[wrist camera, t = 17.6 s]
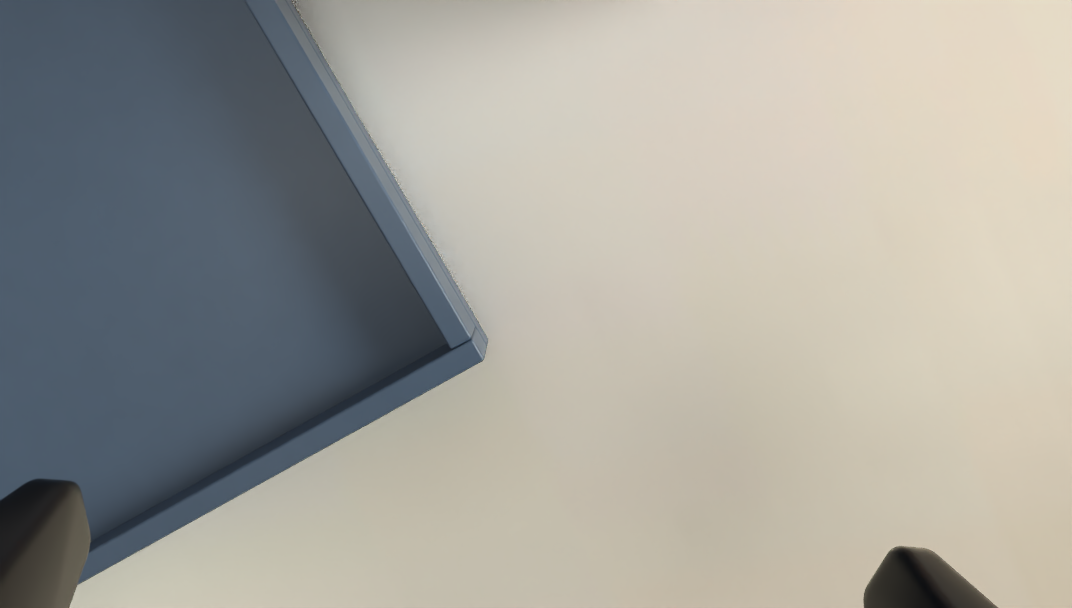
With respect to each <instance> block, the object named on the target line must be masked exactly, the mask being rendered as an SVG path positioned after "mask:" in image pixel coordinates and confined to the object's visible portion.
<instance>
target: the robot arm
mask: <svg viewBox="0 0 1072 608" xmlns="http://www.w3.org/2000/svg"><path fill="white" fill-rule="evenodd" d="M90 537H91V535H90V529H89V524H88V519H87V515H86V510H85V505H84V501H83V496H82V492H81V489H80V487H79V485H78V484H77V483H76V482H73V481H70V480H57V479H45V478H37V479H33V480H31V481H28V482H26V483H25V484H23V485H21V486H20V487H19V488H17V489H16V490H14V491H13V492H11V493H10V494H9V495H7V496H6V497H4V498H3V499H1V500H0V608H69V606H70V604H71V601H72V598H73V595H74V592H75V590H76V587H77V584H78V581H79V579H80V576H81V573H82V570H83V567H84V565H85V562H86V559H87V556H88V552H89V548H90ZM864 608H998V607H997V606H995V605H994V604H993V603H992V602H991V601H990V600H989V599H987V598H986V597H985V596H984V595H983V594H982V593H981V592H979V591H978V590H977V589H976V588H975V587H974V586H972V585H971V584H970V583H969V582H968V581H967V580H966V579H964V578H963V577H962V576H961V575H960V574H959V573H958V572H956V571H955V570H954V569H953V568H952V567H951V566H950V565H948V564H947V563H946V562H945V561H944V560H943V559H942V558H940V557H939V556H938V555H937V554H935V553H934V552H933V551H931V550H928V549H925V548H916V547H904V546H898V547H895V548H893V549H891V550H890V551H889V552H888V554H887V555H886V557H885V558H884V560H883V562H882V563H881V565H880V566H879V568H878V569H877V571H876V573H875V574H874V576H873V577H872V579H871V580H870V582H869V583H868V585H867V587H866V589H865V593H864Z"/></svg>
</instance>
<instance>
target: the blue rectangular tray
mask: <svg viewBox="0 0 1072 608" xmlns="http://www.w3.org/2000/svg"><path fill="white" fill-rule="evenodd" d="M487 344H488V338H487V337H486V335H485V333H484V331H483V330H482V328H481V326H480V324H479V323H478V321H477V319H476V318H475V316H474V314H473V312H472V311H471V309H470V307H469V306H468V304H467V302H466V300H465V299H464V297H463V295H462V294H461V292H460V290H459V288H458V287H457V285H456V283H455V282H454V280H453V278H452V276H451V275H450V273H449V271H448V270H447V268H446V266H445V264H444V263H443V261H442V259H441V257H440V256H439V254H438V252H437V251H436V249H435V247H434V245H433V244H432V242H431V240H430V239H429V237H428V235H427V233H426V232H425V230H424V228H423V227H422V225H421V223H420V221H419V220H418V218H417V216H416V215H415V213H414V211H413V209H412V208H411V206H410V204H409V203H408V201H407V199H406V197H405V196H404V194H403V192H402V190H401V189H400V187H399V185H398V184H397V182H396V180H395V178H394V177H393V175H392V173H391V172H390V170H389V168H388V166H387V165H386V163H385V161H384V160H383V158H382V156H381V154H380V153H379V151H378V149H377V148H376V146H375V144H374V142H373V141H372V139H371V137H370V136H369V134H368V132H367V130H366V129H365V127H364V125H363V123H362V122H361V120H360V118H359V117H358V115H357V113H356V111H355V110H354V108H353V106H352V105H351V103H350V101H349V99H348V98H347V96H346V94H345V93H344V91H343V89H342V87H341V86H340V84H339V82H338V81H337V79H336V77H335V75H334V74H333V72H332V70H331V69H330V67H329V65H328V63H327V62H326V60H325V58H324V56H323V55H322V53H321V51H320V50H319V48H318V46H317V44H316V43H315V41H314V39H313V38H312V36H311V34H310V32H309V31H308V29H307V27H306V26H305V24H304V22H303V20H302V19H301V17H300V15H299V14H298V12H297V10H296V8H295V7H294V5H293V3H292V2H291V0H0V500H1V499H3V498H4V497H6V496H7V495H9V494H10V493H11V492H13V491H14V490H16V489H17V488H19V487H20V486H21V485H23V484H25V483H26V482H28V481H31V480H33V479H37V478H45V479H57V480H70V481H73V482H76V483H77V484H78V485H79V487H80V489H81V492H82V496H83V501H84V505H85V510H86V515H87V519H88V524H89V529H90V535H91V537H90V548H89V552H88V556H87V559H86V562H85V565H84V567H83V570H82V573H81V576H80V579H79V581H78V584H80V583H82V582H84V581H86V580H87V579H89V578H91V577H93V576H95V575H96V574H98V573H100V572H102V571H104V570H105V569H107V568H109V567H111V566H113V565H114V564H116V563H118V562H120V561H122V560H123V559H125V558H127V557H129V556H131V555H133V554H134V553H136V552H138V551H140V550H142V549H143V548H145V547H147V546H149V545H151V544H152V543H154V542H156V541H158V540H160V539H161V538H163V537H165V536H167V535H169V534H170V533H172V532H174V531H176V530H178V529H180V528H181V527H183V526H185V525H187V524H189V523H190V522H192V521H194V520H196V519H198V518H199V517H201V516H203V515H205V514H207V513H208V512H210V511H212V510H214V509H216V508H218V507H219V506H221V505H223V504H225V503H227V502H228V501H230V500H232V499H234V498H236V497H237V496H239V495H241V494H243V493H245V492H246V491H248V490H250V489H252V488H254V487H255V486H257V485H259V484H261V483H263V482H265V481H266V480H268V479H270V478H272V477H274V476H275V475H277V474H279V473H281V472H283V471H284V470H286V469H288V468H290V467H292V466H293V465H295V464H297V463H299V462H301V461H302V460H304V459H306V458H308V457H310V456H312V455H313V454H315V453H317V452H319V451H321V450H322V449H324V448H326V447H328V446H330V445H331V444H333V443H335V442H337V441H339V440H340V439H342V438H344V437H346V436H348V435H349V434H351V433H353V432H355V431H357V430H359V429H360V428H362V427H364V426H366V425H368V424H369V423H371V422H373V421H375V420H377V419H378V418H380V417H382V416H384V415H386V414H387V413H389V412H391V411H393V410H395V409H397V408H398V407H400V406H402V405H404V404H406V403H407V402H409V401H411V400H413V399H415V398H416V397H418V396H420V395H422V394H424V393H425V392H427V391H429V390H431V389H433V388H434V387H436V386H438V385H440V384H442V383H444V382H445V381H447V380H449V379H451V378H453V377H454V376H456V375H458V374H460V373H462V372H463V371H465V370H467V369H469V368H471V367H472V366H474V365H476V364H478V363H480V362H481V361H483V360H484V357H485V352H486V348H487ZM78 584H77V585H78Z"/></svg>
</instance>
